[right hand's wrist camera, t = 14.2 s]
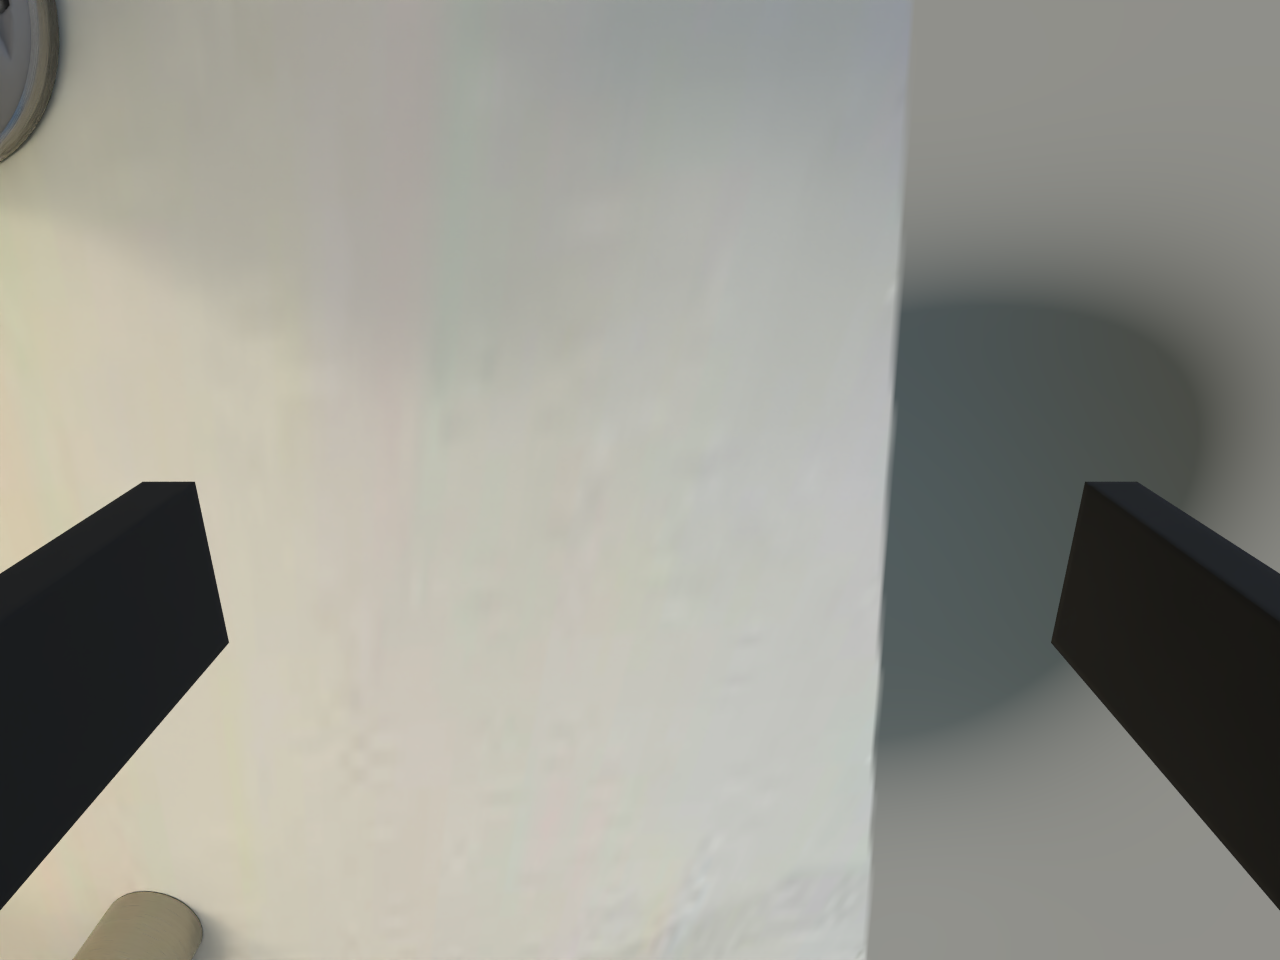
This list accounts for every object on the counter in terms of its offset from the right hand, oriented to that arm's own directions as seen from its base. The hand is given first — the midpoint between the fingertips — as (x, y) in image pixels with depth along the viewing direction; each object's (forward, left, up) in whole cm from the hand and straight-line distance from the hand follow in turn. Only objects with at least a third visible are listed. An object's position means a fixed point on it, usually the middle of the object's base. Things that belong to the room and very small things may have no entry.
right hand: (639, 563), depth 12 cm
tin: (+12, -53, -30) cm, 62 cm away
